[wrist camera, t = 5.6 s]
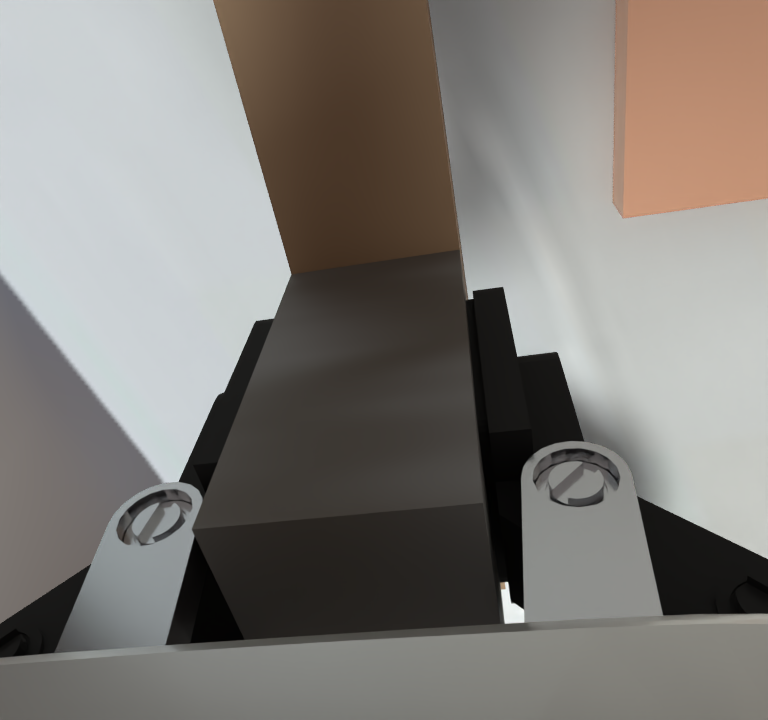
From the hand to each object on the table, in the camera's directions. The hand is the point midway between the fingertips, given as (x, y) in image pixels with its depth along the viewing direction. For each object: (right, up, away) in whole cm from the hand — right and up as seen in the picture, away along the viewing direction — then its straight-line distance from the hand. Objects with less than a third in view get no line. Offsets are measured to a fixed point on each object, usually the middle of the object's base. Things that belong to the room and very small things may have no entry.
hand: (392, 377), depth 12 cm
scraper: (0, +1, +2) cm, 3 cm away
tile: (+11, +10, +11) cm, 18 cm away
